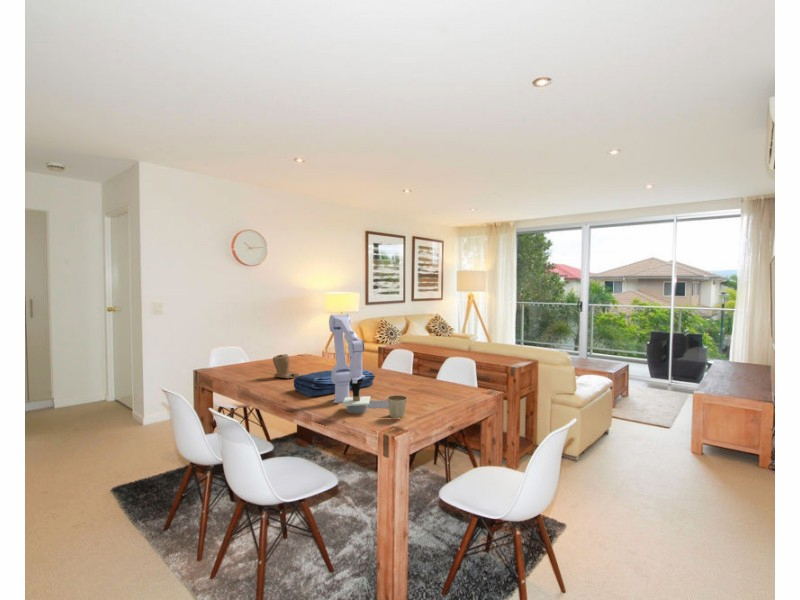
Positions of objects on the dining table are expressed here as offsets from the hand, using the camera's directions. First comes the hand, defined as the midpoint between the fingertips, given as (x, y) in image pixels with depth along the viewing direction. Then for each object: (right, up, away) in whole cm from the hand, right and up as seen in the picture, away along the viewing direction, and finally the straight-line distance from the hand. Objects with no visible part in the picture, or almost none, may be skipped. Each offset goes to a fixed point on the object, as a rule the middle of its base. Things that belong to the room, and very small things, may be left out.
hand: (356, 395), depth 197 cm
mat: (+11, -7, +10) cm, 17 cm away
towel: (-17, -7, +46) cm, 50 cm away
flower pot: (+19, -8, -8) cm, 22 cm away
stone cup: (-53, -6, +73) cm, 91 cm away
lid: (0, -3, 0) cm, 3 cm away
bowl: (0, -8, 0) cm, 8 cm away
